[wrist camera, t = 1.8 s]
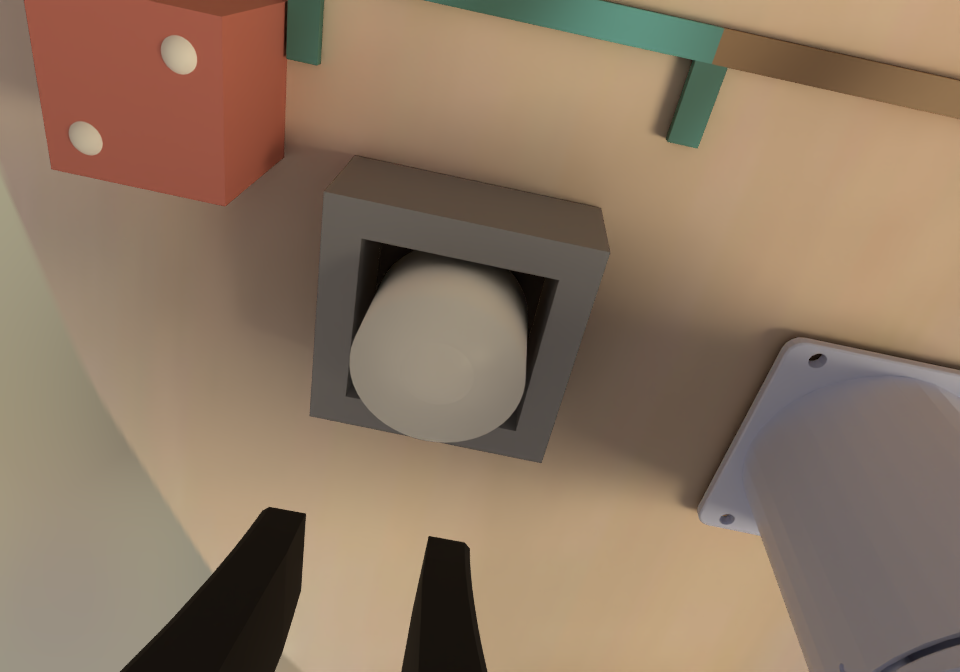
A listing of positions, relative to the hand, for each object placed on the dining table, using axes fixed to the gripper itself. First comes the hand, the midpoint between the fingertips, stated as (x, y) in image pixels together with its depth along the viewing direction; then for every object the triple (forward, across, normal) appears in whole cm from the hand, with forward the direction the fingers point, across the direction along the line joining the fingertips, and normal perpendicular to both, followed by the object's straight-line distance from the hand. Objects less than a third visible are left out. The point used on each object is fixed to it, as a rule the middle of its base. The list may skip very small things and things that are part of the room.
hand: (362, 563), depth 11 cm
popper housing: (+10, -1, 0) cm, 10 cm away
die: (+11, +7, -5) cm, 14 cm away
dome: (+9, -1, 0) cm, 9 cm away
